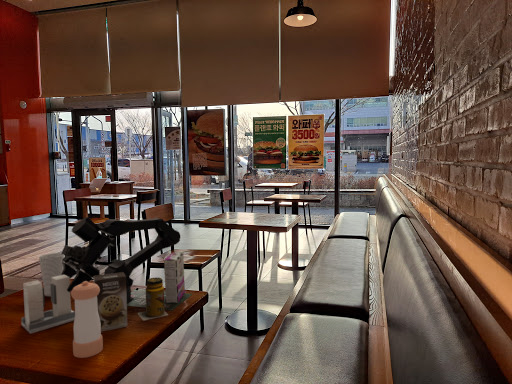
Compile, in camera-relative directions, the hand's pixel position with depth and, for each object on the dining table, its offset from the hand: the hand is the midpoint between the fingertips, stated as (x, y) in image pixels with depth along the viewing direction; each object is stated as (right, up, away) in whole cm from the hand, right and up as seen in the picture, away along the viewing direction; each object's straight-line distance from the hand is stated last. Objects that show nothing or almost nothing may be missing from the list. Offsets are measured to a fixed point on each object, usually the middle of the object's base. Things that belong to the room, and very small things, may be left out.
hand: (62, 288), depth 118 cm
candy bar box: (+33, -9, +18) cm, 39 cm away
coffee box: (+18, -11, -6) cm, 22 cm away
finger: (0, -9, 0) cm, 9 cm away
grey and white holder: (-2, -10, -2) cm, 11 cm away
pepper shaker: (+18, -12, -21) cm, 30 cm away
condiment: (+29, -10, +3) cm, 31 cm away
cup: (-17, -9, +24) cm, 31 cm away
